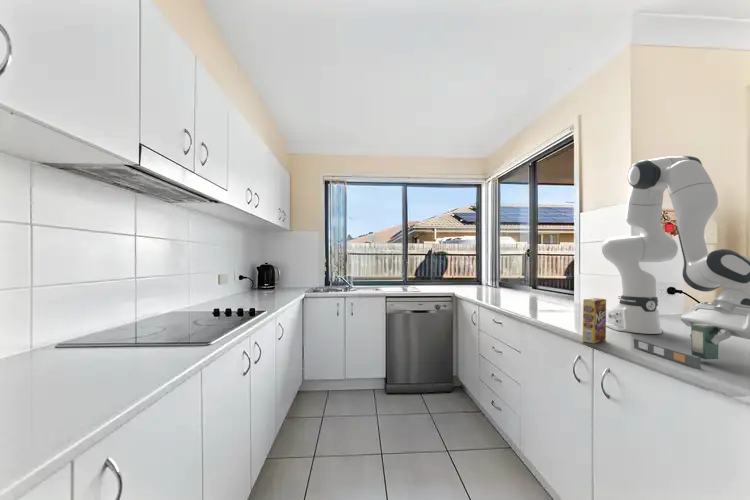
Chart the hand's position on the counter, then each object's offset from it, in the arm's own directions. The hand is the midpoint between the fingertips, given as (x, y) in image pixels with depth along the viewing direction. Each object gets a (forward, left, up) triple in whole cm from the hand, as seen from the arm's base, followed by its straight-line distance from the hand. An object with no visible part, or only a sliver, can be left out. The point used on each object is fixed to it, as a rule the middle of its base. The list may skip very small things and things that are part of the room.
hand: (702, 340), depth 102 cm
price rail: (-6, -6, -6) cm, 11 cm away
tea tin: (0, +1, -5) cm, 5 cm away
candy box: (-26, -14, -7) cm, 30 cm away
